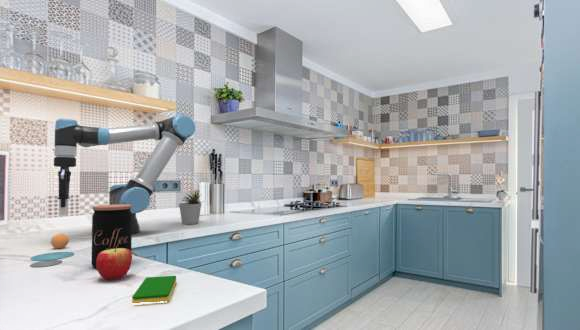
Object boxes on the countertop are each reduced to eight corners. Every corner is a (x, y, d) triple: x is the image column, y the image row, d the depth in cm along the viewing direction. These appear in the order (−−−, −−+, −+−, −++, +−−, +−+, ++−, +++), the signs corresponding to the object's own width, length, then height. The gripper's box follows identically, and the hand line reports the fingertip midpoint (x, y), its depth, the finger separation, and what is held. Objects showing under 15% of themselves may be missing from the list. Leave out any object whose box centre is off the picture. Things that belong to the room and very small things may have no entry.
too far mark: (65, 259, 107) (65, 259, 107) (57, 265, 99) (57, 265, 99) (36, 261, 104) (36, 261, 104) (25, 268, 97) (25, 267, 97)
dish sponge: (176, 284, 83) (176, 275, 83) (168, 305, 69) (168, 294, 69) (146, 287, 81) (146, 277, 81) (131, 308, 68) (131, 296, 68)
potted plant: (197, 225, 183) (197, 189, 183) (174, 225, 185) (174, 189, 185) (207, 222, 195) (207, 188, 196) (185, 222, 197) (185, 188, 198)
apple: (137, 277, 87) (138, 239, 87) (102, 285, 81) (103, 244, 81) (124, 271, 93) (125, 236, 93) (91, 279, 86) (91, 240, 87)
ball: (70, 246, 128) (70, 232, 128) (66, 249, 123) (66, 234, 123) (53, 247, 126) (54, 233, 126) (48, 250, 121) (48, 235, 121)
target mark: (78, 251, 119) (78, 250, 119) (68, 258, 108) (68, 258, 108) (38, 253, 115) (38, 253, 115) (24, 262, 104) (24, 261, 104)
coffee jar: (86, 271, 93) (87, 207, 94) (97, 262, 103) (98, 204, 104) (127, 268, 96) (128, 206, 97) (134, 259, 106) (134, 203, 107)
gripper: (56, 157, 138) (54, 214, 137) (51, 155, 127) (48, 217, 125) (78, 158, 142) (76, 213, 140) (74, 156, 130) (72, 216, 129)
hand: (63, 215), depth 133 cm, fingers closed
